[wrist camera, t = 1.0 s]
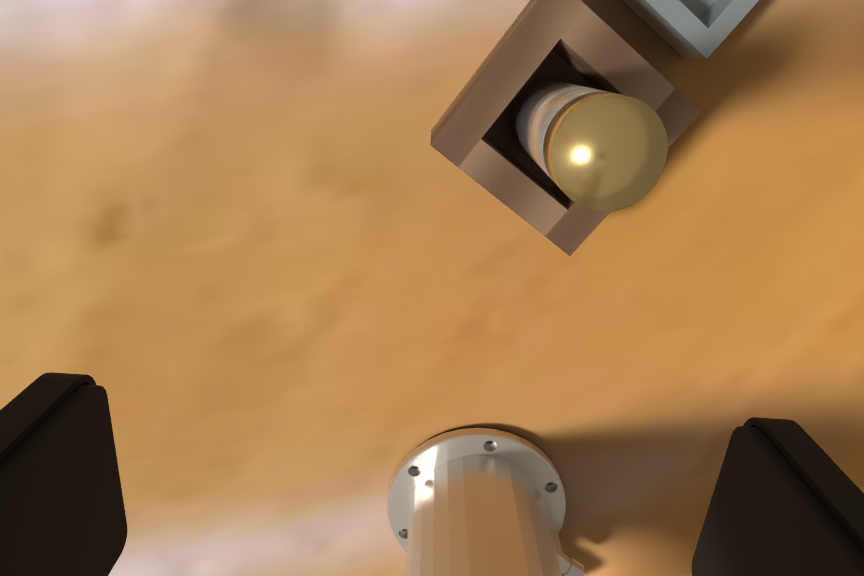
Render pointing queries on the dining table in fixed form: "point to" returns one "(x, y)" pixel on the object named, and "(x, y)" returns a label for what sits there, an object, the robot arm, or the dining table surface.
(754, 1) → the tray
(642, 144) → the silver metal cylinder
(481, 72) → the holder block
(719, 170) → the dining table surface
